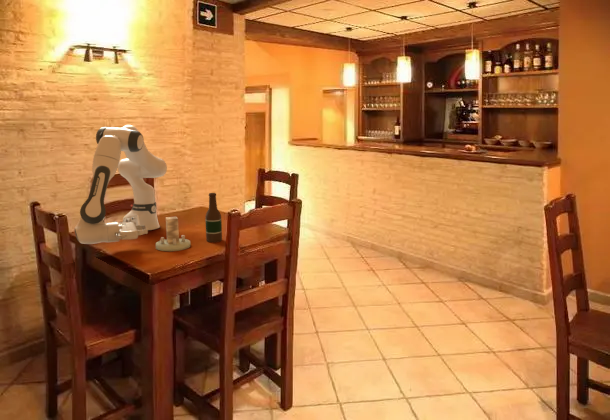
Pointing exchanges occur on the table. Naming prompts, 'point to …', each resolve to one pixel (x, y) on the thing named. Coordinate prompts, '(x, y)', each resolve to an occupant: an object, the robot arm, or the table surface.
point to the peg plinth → (172, 248)
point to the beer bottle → (213, 221)
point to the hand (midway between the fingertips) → (146, 229)
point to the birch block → (172, 229)
